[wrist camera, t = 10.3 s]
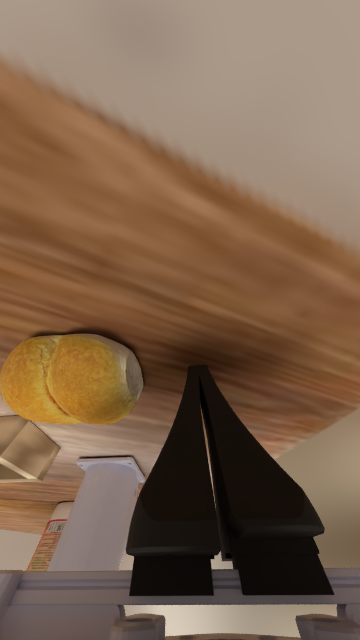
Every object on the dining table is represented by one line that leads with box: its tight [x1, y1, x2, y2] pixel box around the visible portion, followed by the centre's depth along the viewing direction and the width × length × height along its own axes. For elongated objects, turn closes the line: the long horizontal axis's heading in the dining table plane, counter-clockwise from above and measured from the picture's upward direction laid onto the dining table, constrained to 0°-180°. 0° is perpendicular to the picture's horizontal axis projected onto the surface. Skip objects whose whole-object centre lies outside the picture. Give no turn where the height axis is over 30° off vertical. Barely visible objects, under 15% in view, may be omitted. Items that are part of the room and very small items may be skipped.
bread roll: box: [0, 334, 143, 425], centre depth 11 cm, size 8×9×4 cm
